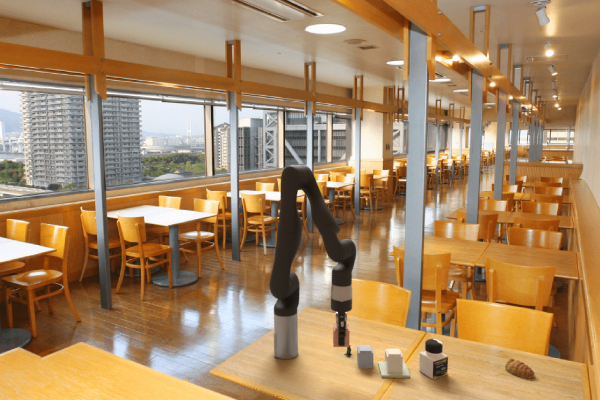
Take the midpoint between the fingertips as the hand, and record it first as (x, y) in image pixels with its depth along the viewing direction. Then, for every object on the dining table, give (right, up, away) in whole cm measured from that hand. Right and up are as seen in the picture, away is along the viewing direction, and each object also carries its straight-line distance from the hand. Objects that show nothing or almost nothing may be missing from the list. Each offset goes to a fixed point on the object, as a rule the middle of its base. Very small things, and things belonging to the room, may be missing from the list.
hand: (341, 341), depth 161 cm
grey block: (+10, -12, +9) cm, 18 cm away
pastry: (+64, -12, +2) cm, 65 cm away
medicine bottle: (+33, -12, +3) cm, 36 cm away
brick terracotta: (0, -1, 0) cm, 1 cm away
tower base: (+20, -12, +5) cm, 23 cm away
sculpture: (+4, -11, +17) cm, 21 cm away
